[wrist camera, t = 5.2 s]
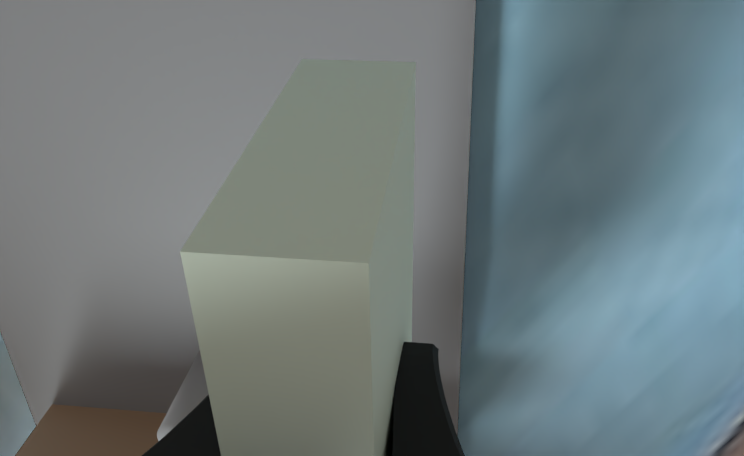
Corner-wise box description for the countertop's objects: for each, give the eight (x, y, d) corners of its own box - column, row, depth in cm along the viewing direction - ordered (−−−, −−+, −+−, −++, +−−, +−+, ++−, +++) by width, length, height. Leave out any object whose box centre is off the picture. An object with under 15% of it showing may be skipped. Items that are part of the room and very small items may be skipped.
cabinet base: (456, 458, 26) (448, 649, 20) (56, 425, 28) (-57, 589, 22) (482, -148, 16) (481, -122, 10) (-143, -130, 18) (-445, -100, 12)
